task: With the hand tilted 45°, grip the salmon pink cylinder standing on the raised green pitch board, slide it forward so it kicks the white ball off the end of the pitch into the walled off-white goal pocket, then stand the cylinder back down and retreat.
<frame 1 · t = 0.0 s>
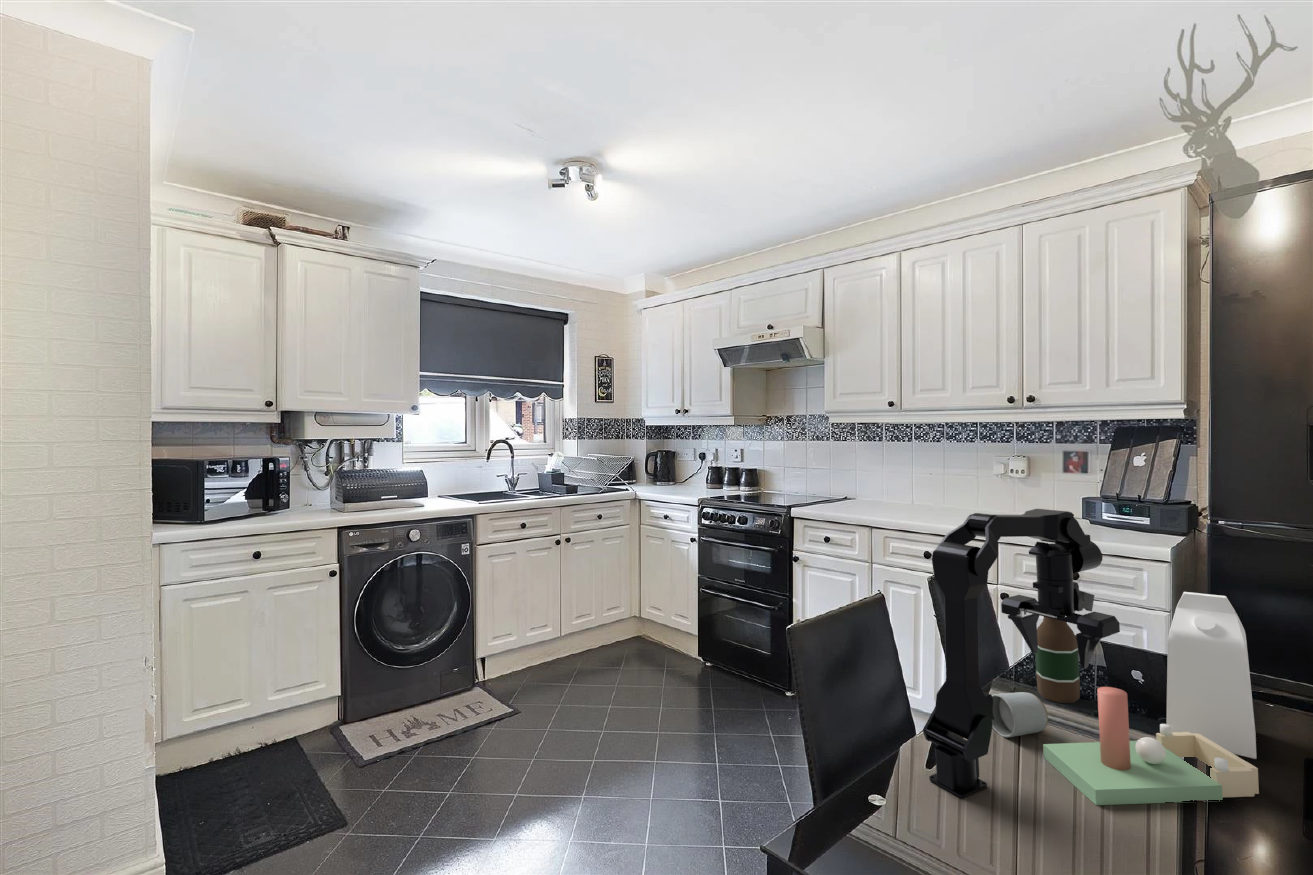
hand: (1058, 660, 117), 15 cm above the table, tool pointing down, fingers open, 9 cm apart
salmon pink cylinder: (1115, 763, 104), point 2 cm above the table, touching pitch
beer bottle: (1058, 697, 134), on the table
pitch: (1126, 777, 104), on the table
milk: (1210, 736, 115), on the table
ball: (1150, 750, 104), point 4 cm above the table, touching pitch
goal: (1202, 774, 103), on the table
ceramic mug: (1011, 730, 122), on the table
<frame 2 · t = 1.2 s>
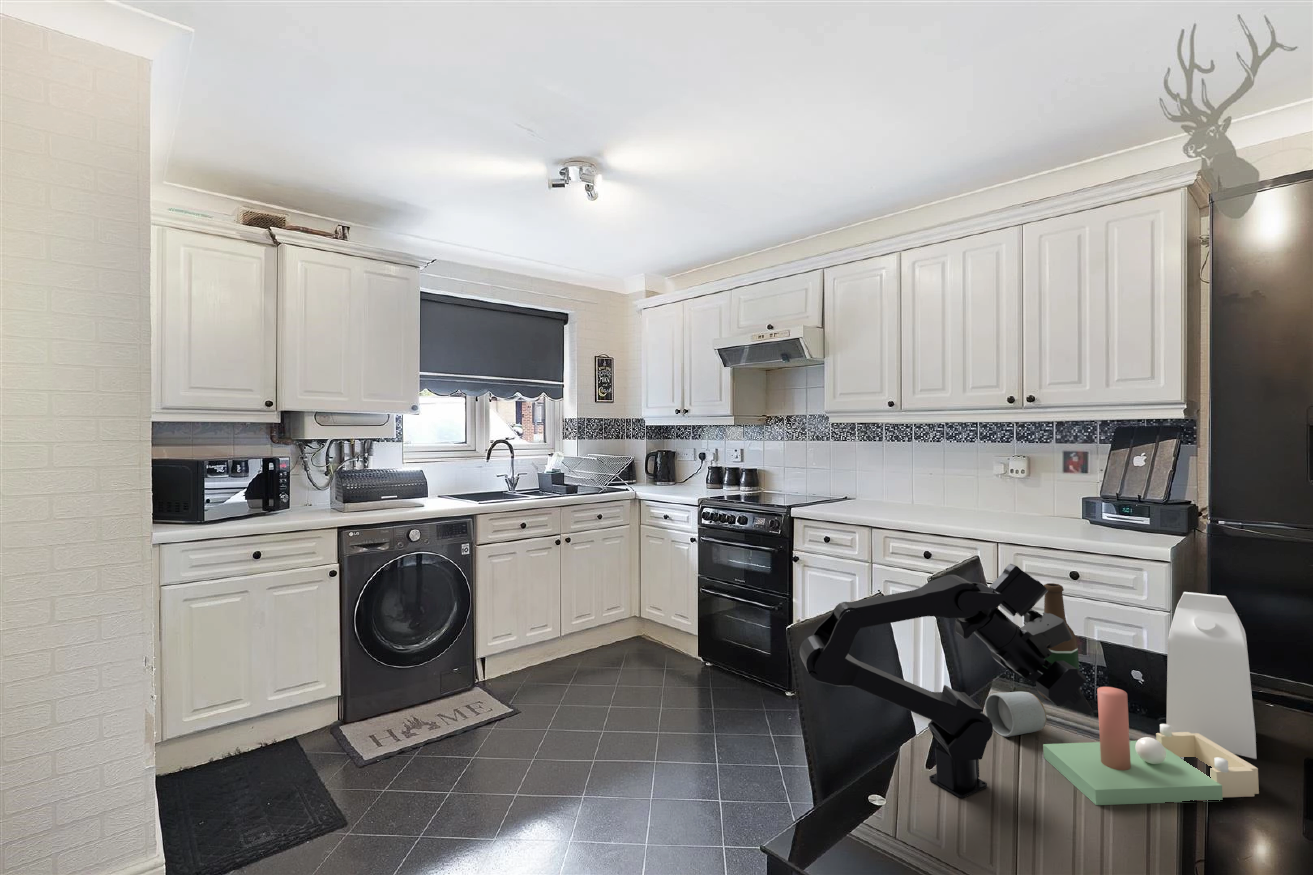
hand: (1071, 699, 104), 13 cm above the table, tool tilted 45°, fingers open, 9 cm apart
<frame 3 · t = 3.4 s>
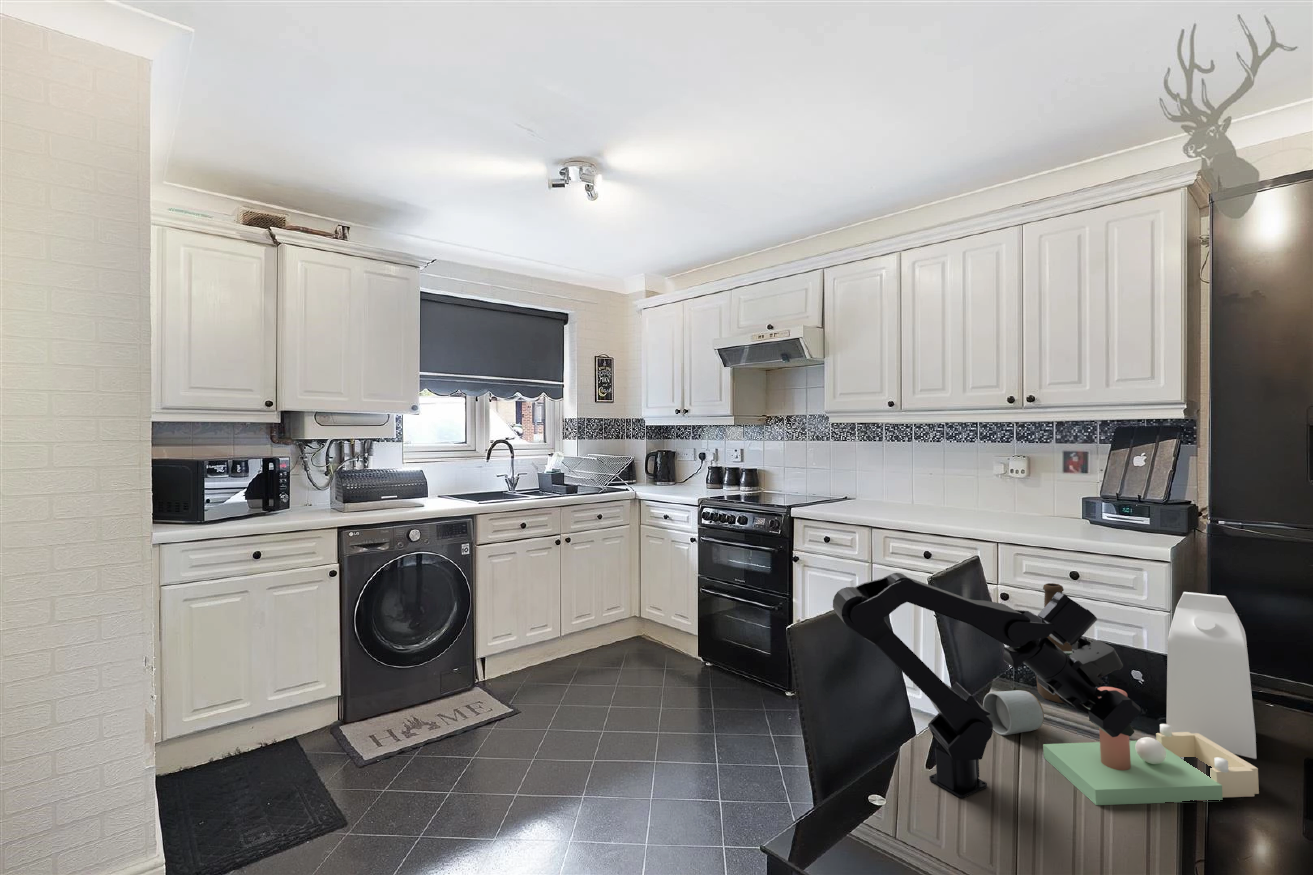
hand: (1122, 727, 104), 8 cm above the table, tool tilted 45°, fingers closed on salmon pink cylinder, 4 cm apart
salmon pink cylinder: (1115, 763, 104), point 2 cm above the table, touching gripper, pitch
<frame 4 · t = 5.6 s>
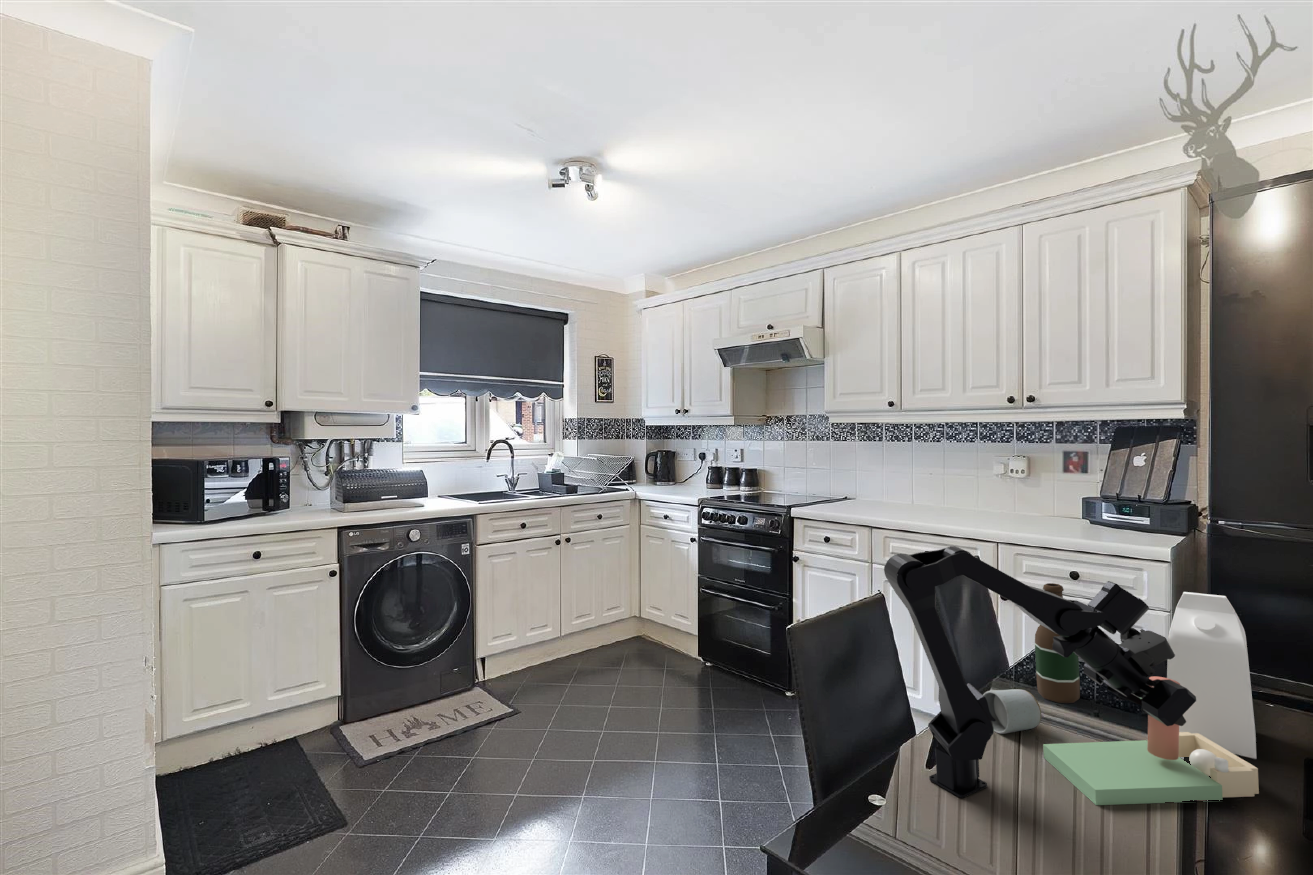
hand: (1173, 717, 103), 10 cm above the table, tool tilted 45°, fingers closed on salmon pink cylinder, 4 cm apart
salmon pink cylinder: (1162, 753, 104), point 4 cm above the table, touching gripper
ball: (1205, 762, 103), point 2 cm above the table, tilted 96°, touching goal
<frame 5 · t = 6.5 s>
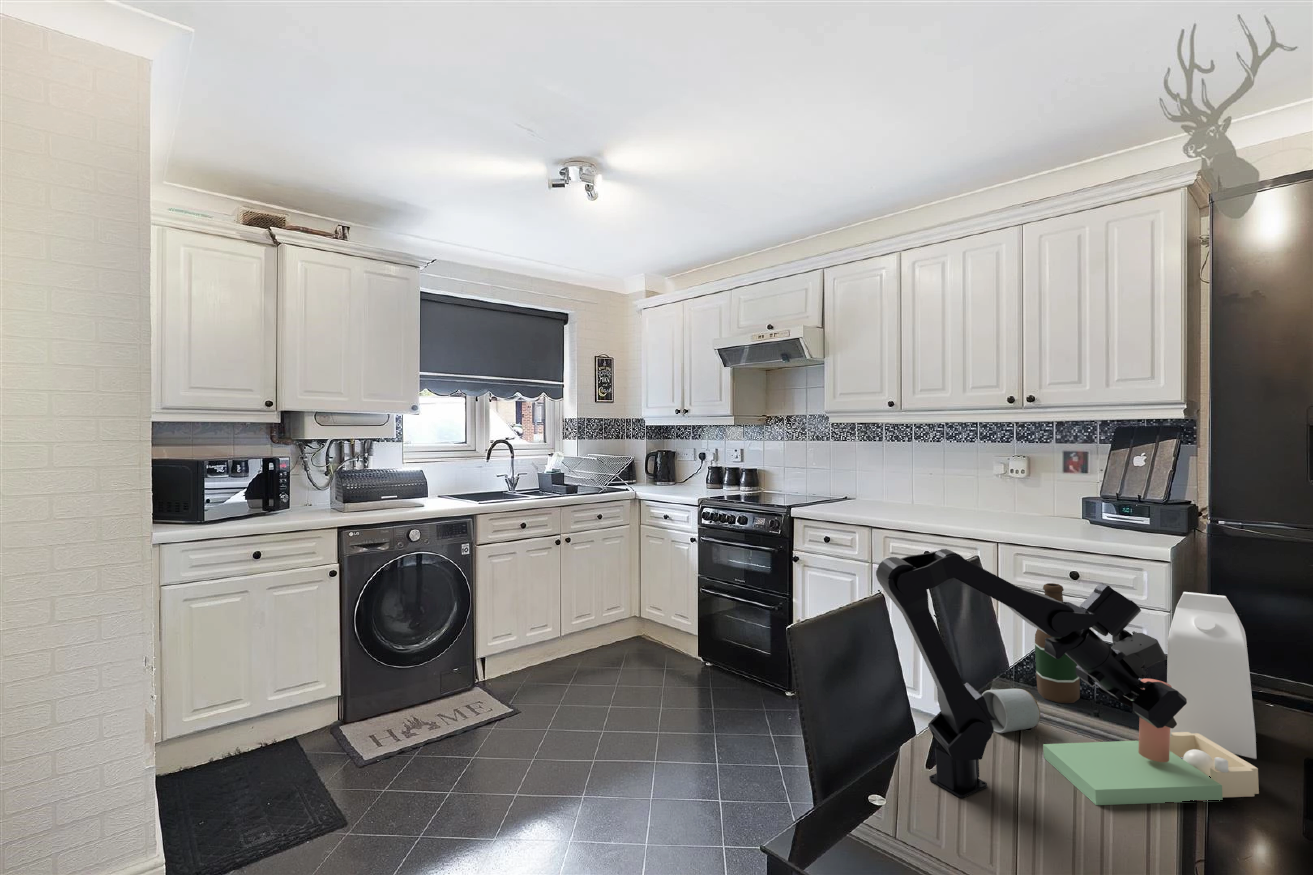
hand: (1164, 719, 103), 9 cm above the table, tool tilted 45°, fingers closed on salmon pink cylinder, 4 cm apart
salmon pink cylinder: (1153, 755, 104), point 4 cm above the table, touching gripper
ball: (1199, 762, 103), point 2 cm above the table, tilted 124°, touching goal
when the fingers open (8 cm above the table, at t = 7.5 s): salmon pink cylinder stays where it is, resting on pitch.
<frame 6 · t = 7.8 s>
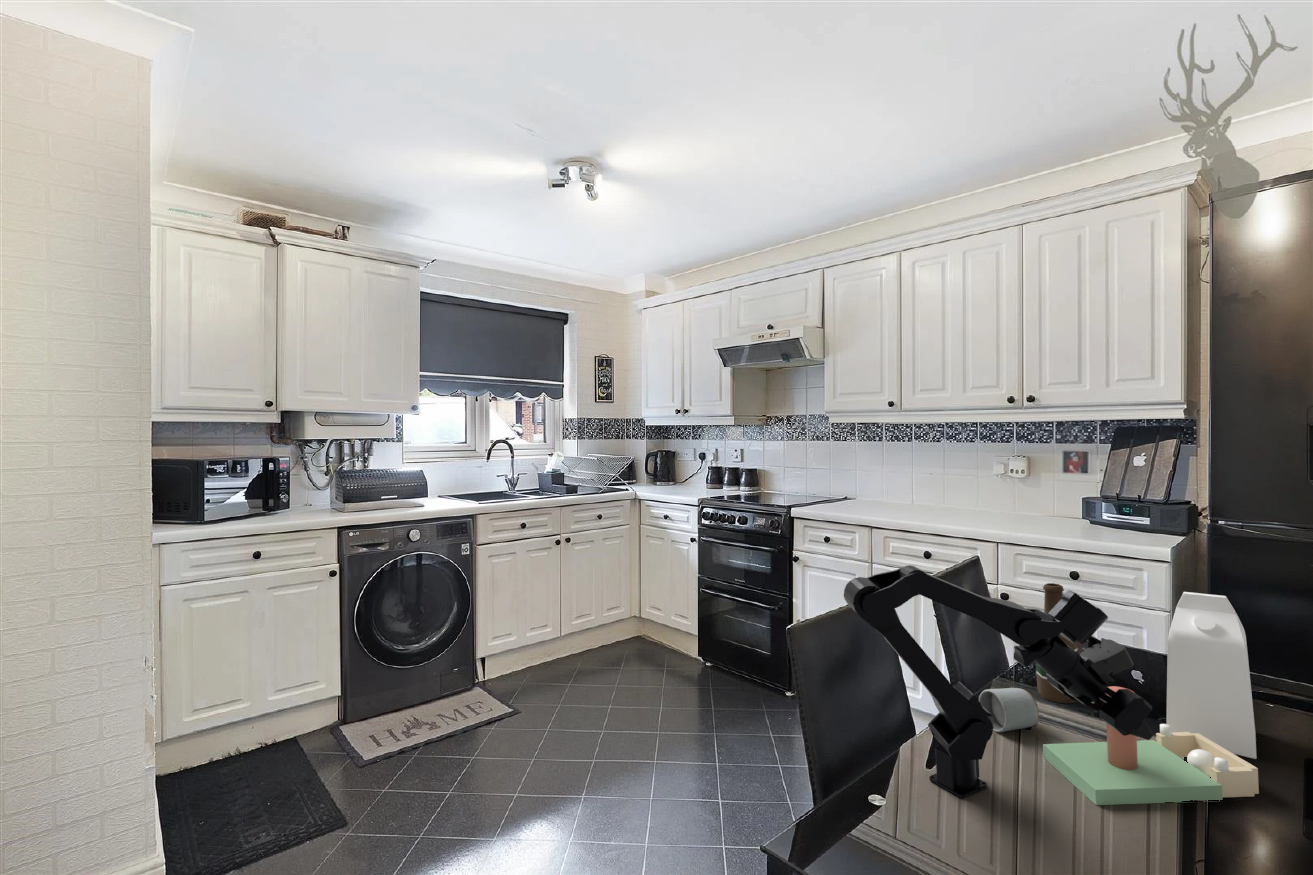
hand: (1133, 725, 104), 9 cm above the table, tool tilted 45°, fingers open, 7 cm apart
salmon pink cylinder: (1122, 763, 104), point 2 cm above the table, touching pitch
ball: (1202, 762, 103), point 2 cm above the table, tilted 107°, touching goal
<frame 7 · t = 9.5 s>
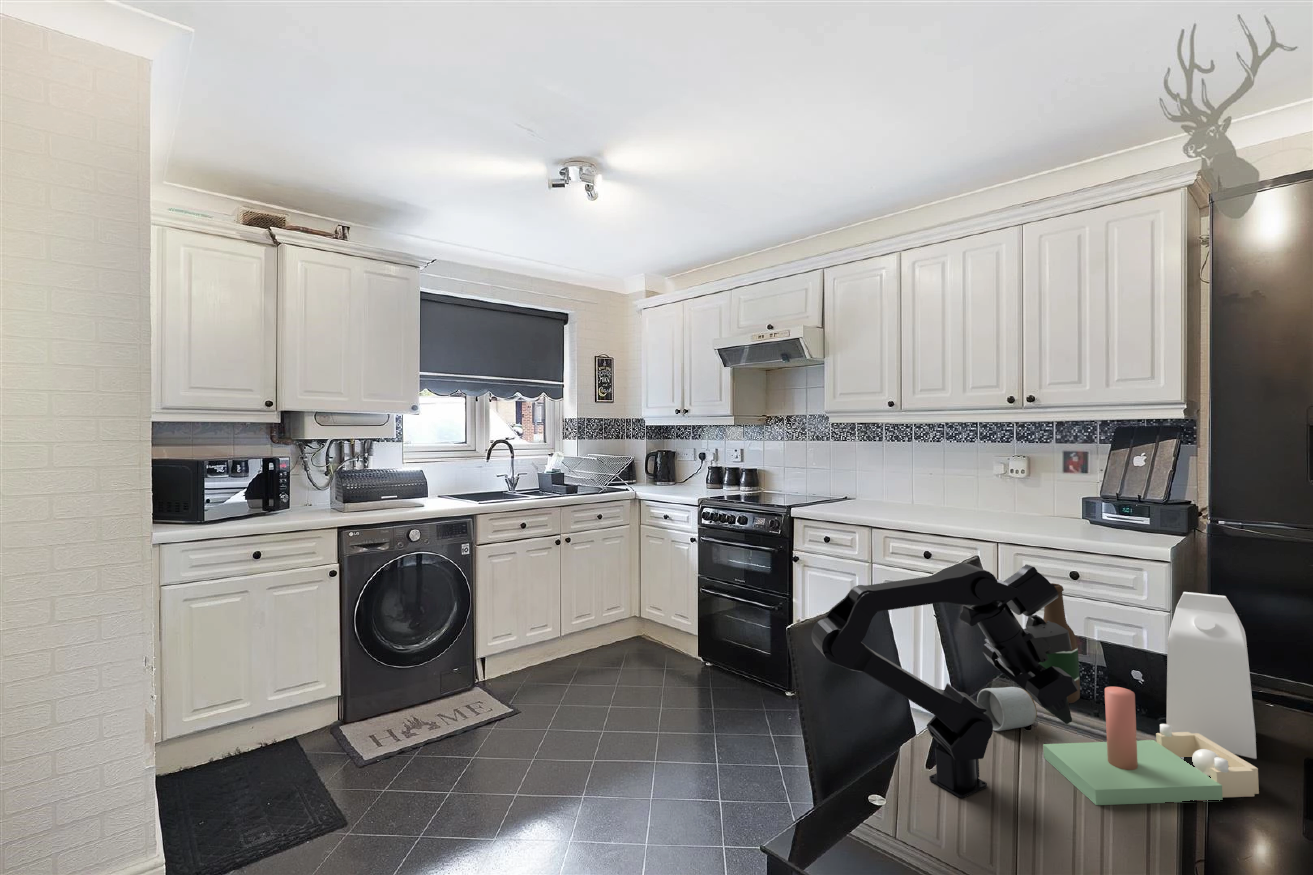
hand: (1052, 707, 106), 11 cm above the table, tool tilted 30°, fingers open, 9 cm apart
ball: (1207, 762, 103), point 2 cm above the table, tilted 84°, touching goal
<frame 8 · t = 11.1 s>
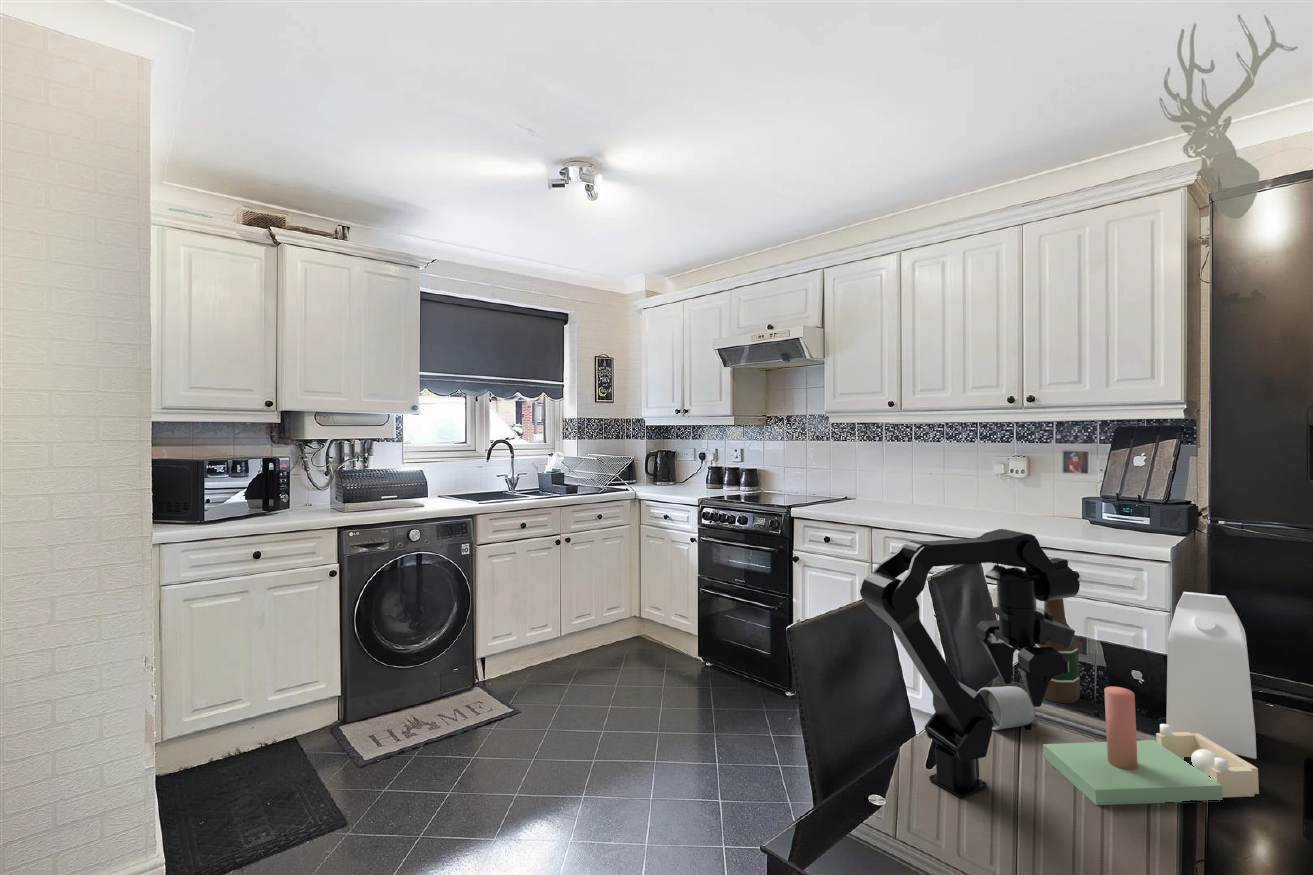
hand: (1021, 694, 108), 13 cm above the table, tool pointing down, fingers open, 9 cm apart
at the end: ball 0.6 cm from the goal (horizontally); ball point 2.1 cm above the table; salmon pink cylinder 0.6 cm from the pitch (horizontally) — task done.
